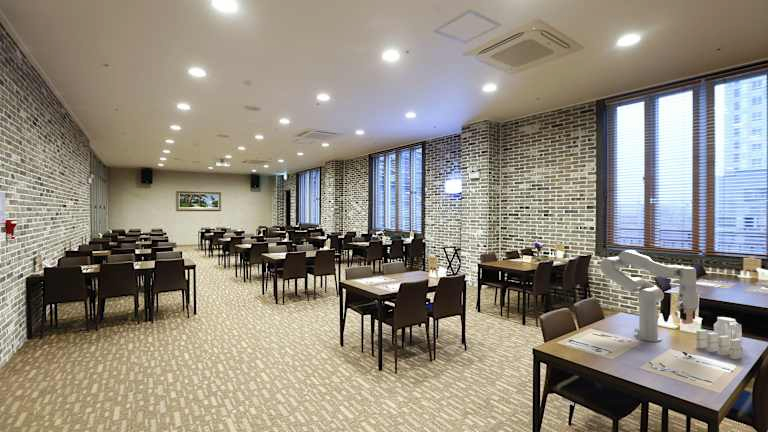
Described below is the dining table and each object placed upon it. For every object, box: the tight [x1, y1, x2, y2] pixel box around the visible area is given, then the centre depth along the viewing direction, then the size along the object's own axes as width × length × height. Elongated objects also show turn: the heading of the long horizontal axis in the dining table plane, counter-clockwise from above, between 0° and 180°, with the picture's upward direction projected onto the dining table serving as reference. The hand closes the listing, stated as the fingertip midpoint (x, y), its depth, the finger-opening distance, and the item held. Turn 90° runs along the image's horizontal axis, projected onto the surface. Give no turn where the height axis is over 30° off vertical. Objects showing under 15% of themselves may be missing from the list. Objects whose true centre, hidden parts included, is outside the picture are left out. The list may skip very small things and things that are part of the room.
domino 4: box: [717, 335, 730, 356], centre depth 204 cm, size 2×6×10 cm, turn 106°
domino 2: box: [695, 329, 708, 349], centre depth 214 cm, size 2×6×10 cm, turn 106°
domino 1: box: [681, 306, 694, 325], centre depth 212 cm, size 2×6×10 cm, turn 105°
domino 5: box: [729, 338, 742, 360], centre depth 198 cm, size 2×6×10 cm, turn 106°
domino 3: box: [706, 332, 718, 353], centre depth 209 cm, size 2×6×10 cm, turn 106°
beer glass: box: [725, 322, 743, 351], centre depth 211 cm, size 7×7×15 cm
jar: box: [713, 316, 737, 336], centre depth 221 cm, size 12×10×15 cm
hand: (687, 318), depth 212 cm, fingers closed on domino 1, 6 cm apart
